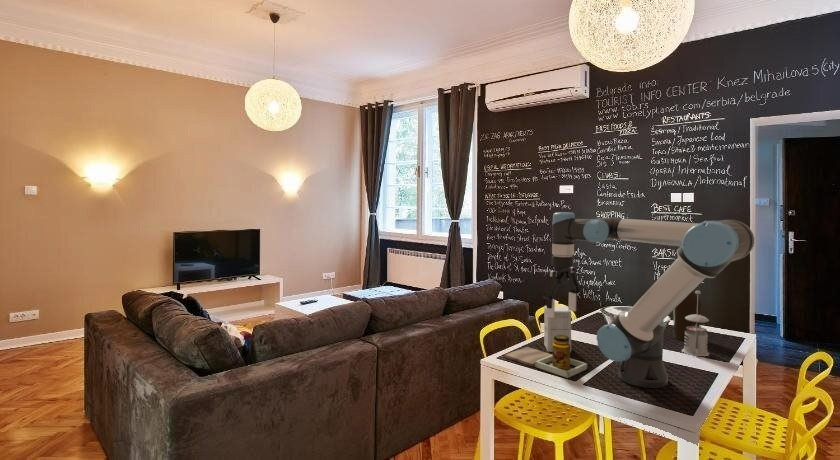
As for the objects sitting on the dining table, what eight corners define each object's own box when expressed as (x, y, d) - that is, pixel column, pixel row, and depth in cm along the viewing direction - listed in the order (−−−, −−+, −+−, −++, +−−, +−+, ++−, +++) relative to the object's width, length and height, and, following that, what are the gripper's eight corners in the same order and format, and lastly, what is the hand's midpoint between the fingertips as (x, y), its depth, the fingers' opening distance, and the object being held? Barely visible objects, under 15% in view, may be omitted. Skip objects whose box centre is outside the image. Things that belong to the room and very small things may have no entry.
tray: (587, 368, 166) (587, 363, 166) (567, 378, 158) (567, 372, 158) (554, 358, 177) (555, 353, 177) (534, 366, 169) (534, 361, 169)
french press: (708, 350, 184) (710, 289, 182) (712, 360, 174) (715, 295, 172) (680, 347, 189) (682, 287, 187) (682, 356, 178) (685, 292, 176)
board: (554, 357, 178) (554, 355, 178) (532, 366, 169) (532, 364, 169) (527, 349, 188) (527, 346, 188) (504, 357, 179) (504, 354, 179)
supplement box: (566, 345, 193) (567, 305, 191) (571, 352, 183) (572, 311, 182) (543, 344, 194) (543, 305, 192) (547, 352, 184) (547, 310, 183)
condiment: (553, 372, 164) (553, 339, 163) (548, 363, 172) (549, 332, 171) (574, 372, 163) (574, 339, 162) (568, 364, 172) (569, 332, 171)
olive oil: (703, 338, 199) (705, 281, 197) (695, 344, 192) (697, 285, 190) (676, 333, 207) (679, 278, 205) (668, 338, 200) (670, 281, 198)
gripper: (572, 251, 175) (571, 306, 177) (532, 257, 159) (531, 317, 161) (591, 253, 169) (589, 309, 171) (551, 260, 154) (550, 322, 155)
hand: (561, 313), depth 166 cm, fingers open, 13 cm apart
